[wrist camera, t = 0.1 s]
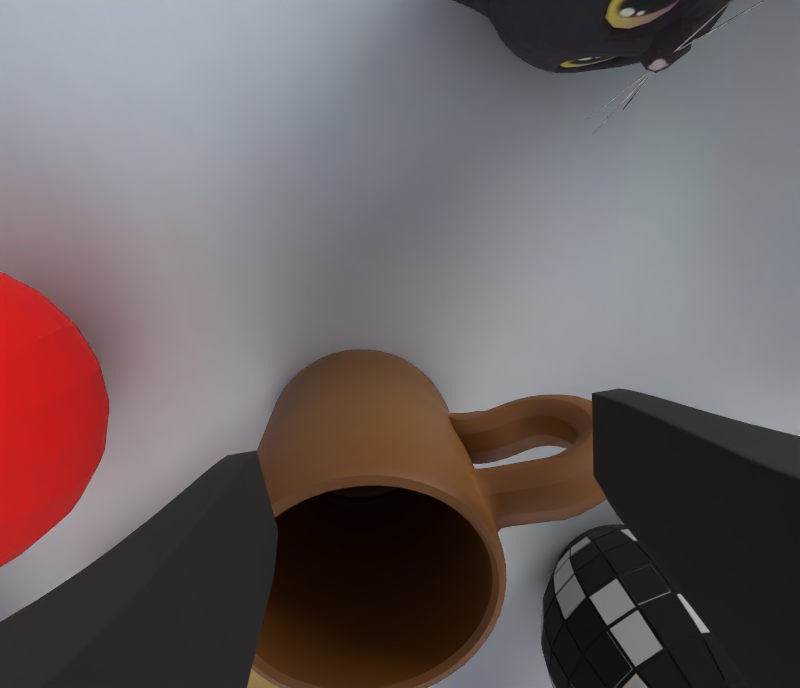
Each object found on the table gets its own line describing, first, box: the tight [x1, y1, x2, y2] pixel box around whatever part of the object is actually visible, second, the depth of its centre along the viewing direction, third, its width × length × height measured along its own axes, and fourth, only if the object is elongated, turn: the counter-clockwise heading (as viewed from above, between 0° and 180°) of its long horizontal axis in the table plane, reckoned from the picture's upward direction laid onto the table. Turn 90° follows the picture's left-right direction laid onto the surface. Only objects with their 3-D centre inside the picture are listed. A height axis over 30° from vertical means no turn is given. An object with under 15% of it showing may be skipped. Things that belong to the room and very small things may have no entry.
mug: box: [252, 350, 606, 688], centre depth 16 cm, size 12×8×9 cm, turn 114°
